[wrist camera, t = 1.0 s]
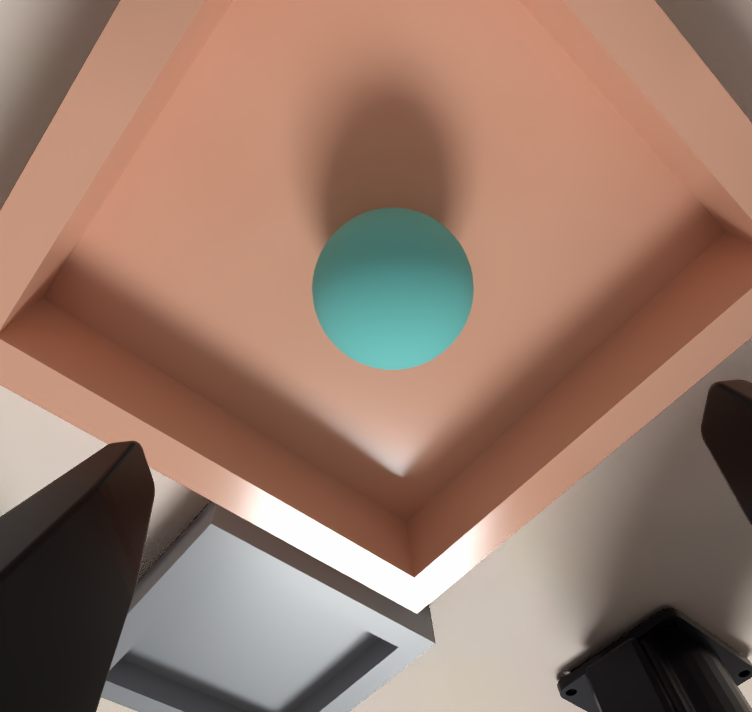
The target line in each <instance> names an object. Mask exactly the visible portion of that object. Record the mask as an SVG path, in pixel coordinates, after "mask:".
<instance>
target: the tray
mask: <svg viewBox="0 0 752 712" xmlns="http://www.w3.org/2000/svg"><path fill="white" fill-rule="evenodd" d="M434 644H435V637H434V631H433V625H432V619H431V613H430V608H429V607H427V606H426V607H425V608H424V609H422V610H421V611H420V612H419V613H417V614H416V613H414V612H413V611H411V610H409V609H407V608H405V607H404V606H402V605H400V604H398V603H396V602H394V601H393V600H391V599H389V598H387V597H385V596H384V595H382V594H380V593H378V592H376V591H374V590H373V589H371V588H369V587H367V586H365V585H364V584H362V583H360V582H358V581H356V580H354V579H353V578H351V577H349V576H347V575H345V574H343V573H342V572H340V571H338V570H336V569H334V568H333V567H331V566H329V565H327V564H325V563H323V562H322V561H320V560H318V559H316V558H314V557H313V556H311V555H309V554H307V553H305V552H303V551H302V550H300V549H298V548H296V547H294V546H293V545H291V544H289V543H287V542H285V541H283V540H282V539H280V538H278V537H276V536H274V535H272V534H271V533H269V532H267V531H265V530H263V529H262V528H260V527H258V526H256V525H254V524H252V523H251V522H249V521H247V520H245V519H243V518H242V517H240V516H238V515H236V514H234V513H232V512H231V511H229V510H227V509H225V508H223V507H222V506H220V505H218V504H216V503H214V502H212V501H210V502H209V504H208V505H207V506H206V507H205V508H204V509H203V510H202V511H201V512H200V513H199V515H198V516H197V517H196V518H195V519H194V520H193V521H192V522H191V523H190V525H189V526H188V527H187V528H186V529H185V530H184V531H183V532H182V533H181V534H180V536H179V537H178V538H177V539H176V540H175V541H174V542H173V543H172V544H171V546H170V547H169V548H168V549H167V550H166V551H165V552H164V553H163V554H162V555H161V557H160V558H159V559H158V560H157V561H156V562H155V563H154V564H153V565H152V567H151V568H150V569H149V570H148V571H147V572H146V573H145V574H144V575H143V576H142V578H141V579H140V580H139V581H138V582H137V585H136V588H135V592H134V595H133V598H132V602H131V605H130V608H129V611H128V614H127V617H126V620H125V623H124V626H123V629H122V633H121V636H120V639H119V642H118V645H117V648H116V651H115V654H114V657H113V661H112V664H111V667H110V670H109V673H108V676H107V679H106V682H105V685H104V688H103V692H102V695H101V697H102V698H105V699H107V700H110V701H112V702H115V703H118V704H120V705H123V706H125V707H128V708H131V709H133V710H136V711H138V712H350V711H351V710H352V709H353V708H355V707H356V706H357V705H358V704H360V703H361V702H362V701H363V700H365V699H366V698H367V697H368V696H370V695H371V694H372V693H374V692H375V691H376V690H377V689H379V688H380V687H381V686H382V685H384V684H385V683H386V682H387V681H389V680H390V679H391V678H392V677H394V676H395V675H396V674H398V673H399V672H400V671H401V670H403V669H404V668H405V667H406V666H408V665H409V664H410V663H411V662H413V661H414V660H415V659H417V658H418V657H419V656H420V655H422V654H423V653H424V652H425V651H427V650H428V649H429V648H430V647H432V646H433V645H434Z"/></svg>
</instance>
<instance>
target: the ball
mask: <svg viewBox="0 0 752 712" xmlns="http://www.w3.org/2000/svg"><path fill="white" fill-rule="evenodd" d="M473 292H474V286H473V275H472V270H471V266H470V263H469V261H468V258H467V255H466V253H465V251H464V249H463V247H462V246H461V244H460V243H459V241H458V240H457V239H456V237H455V236H454V235H453V234H452V233H451V232H450V231H449V230H448V229H447V228H446V227H445V226H444V225H442V224H441V223H440V222H438V221H437V220H435V219H434V218H432V217H430V216H428V215H426V214H423V213H421V212H418V211H414V210H410V209H406V208H396V207H395V208H381V209H375V210H372V211H368V212H365V213H363V214H361V215H358V216H356V217H354V218H353V219H351V220H349V221H348V222H346V223H345V224H344V225H343V226H341V227H340V228H339V229H338V230H337V231H336V232H335V233H334V234H333V235H332V236H331V237H330V239H329V240H328V241H327V243H326V244H325V246H324V247H323V249H322V251H321V253H320V255H319V258H318V260H317V263H316V266H315V270H314V274H313V282H312V294H313V304H314V308H315V312H316V315H317V318H318V321H319V323H320V325H321V327H322V329H323V330H324V332H325V334H326V335H327V337H328V338H329V339H330V341H331V342H332V343H333V344H334V345H335V346H336V347H337V348H338V349H339V350H340V351H342V352H343V353H344V354H345V355H346V356H348V357H350V358H351V359H353V360H355V361H357V362H359V363H361V364H364V365H367V366H370V367H373V368H378V369H384V370H402V369H408V368H412V367H416V366H419V365H422V364H424V363H427V362H429V361H430V360H432V359H434V358H436V357H437V356H439V355H440V354H441V353H443V352H444V351H445V350H446V349H447V348H448V347H449V346H450V345H451V344H452V343H453V342H454V341H455V340H456V339H457V337H458V336H459V334H460V333H461V331H462V330H463V328H464V326H465V324H466V322H467V319H468V316H469V314H470V311H471V307H472V302H473Z"/></svg>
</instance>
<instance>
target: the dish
mask: <svg viewBox="0 0 752 712" xmlns="http://www.w3.org/2000/svg"><path fill="white" fill-rule="evenodd" d="M395 207H396V208H406V209H410V210H414V211H418V212H421V213H423V214H426V215H428V216H430V217H432V218H434V219H435V220H437V221H438V222H440V223H441V224H442V225H444V226H445V227H446V228H447V229H448V230H449V231H450V232H451V233H452V234H453V235H454V236H455V237H456V239H457V240H458V241H459V243H460V244H461V246H462V247H463V249H464V251H465V253H466V255H467V258H468V261H469V263H470V266H471V270H472V275H473V286H474V292H473V302H472V307H471V311H470V314H469V316H468V319H467V322H466V324H465V326H464V328H463V330H462V331H461V333H460V334H459V336H458V337H457V339H456V340H455V341H454V342H453V343H452V344H451V345H450V346H449V347H448V348H447V349H446V350H445V351H444V352H443V353H441V354H440V355H439V356H437V357H436V358H434V359H432V360H430V361H429V362H427V363H424V364H422V365H419V366H416V367H412V368H408V369H402V370H384V369H378V368H373V367H370V366H367V365H364V364H361V363H359V362H357V361H355V360H353V359H351V358H350V357H348V356H346V355H345V354H344V353H343V352H342V351H340V350H339V349H338V348H337V347H336V346H335V345H334V344H333V343H332V342H331V341H330V339H329V338H328V337H327V335H326V334H325V332H324V330H323V329H322V327H321V325H320V323H319V321H318V318H317V315H316V312H315V308H314V304H313V294H312V282H313V274H314V270H315V266H316V263H317V260H318V258H319V255H320V253H321V251H322V249H323V247H324V246H325V244H326V243H327V241H328V240H329V239H330V237H331V236H332V235H333V234H334V233H335V232H336V231H337V230H338V229H339V228H340V227H341V226H343V225H344V224H345V223H346V222H348V221H349V220H351V219H353V218H354V217H356V216H358V215H361V214H363V213H365V212H368V211H372V210H375V209H381V208H395ZM751 337H752V123H751V121H750V120H749V119H748V118H747V116H746V115H745V114H744V112H743V111H742V110H741V109H740V107H739V106H738V105H737V104H736V102H735V101H734V100H733V99H732V97H731V96H730V95H729V93H728V92H727V91H726V90H725V88H724V87H723V86H722V85H721V83H720V82H719V81H718V80H717V78H716V77H715V76H714V74H713V73H712V72H711V71H710V69H709V68H708V67H707V66H706V64H705V63H704V62H703V61H702V59H701V58H700V57H699V55H698V54H697V53H696V52H695V50H694V49H693V48H692V47H691V45H690V44H689V43H688V42H687V40H686V39H685V38H684V36H683V35H682V34H681V33H680V31H679V30H678V29H677V28H676V26H675V25H674V24H673V23H672V21H671V20H670V19H669V17H668V16H667V15H666V14H665V12H664V11H663V10H662V9H661V7H660V6H659V5H658V4H657V2H656V1H655V0H120V2H119V4H118V5H117V7H116V9H115V11H114V12H113V14H112V16H111V18H110V19H109V21H108V23H107V25H106V26H105V28H104V30H103V32H102V33H101V35H100V37H99V39H98V40H97V42H96V44H95V46H94V47H93V49H92V51H91V53H90V54H89V56H88V58H87V60H86V61H85V63H84V65H83V67H82V68H81V70H80V72H79V74H78V75H77V77H76V79H75V81H74V82H73V84H72V86H71V88H70V89H69V91H68V93H67V95H66V96H65V98H64V100H63V102H62V104H61V105H60V107H59V109H58V111H57V112H56V114H55V116H54V118H53V119H52V121H51V123H50V125H49V126H48V128H47V130H46V132H45V133H44V135H43V137H42V139H41V140H40V142H39V144H38V146H37V147H36V149H35V151H34V153H33V154H32V156H31V158H30V160H29V161H28V163H27V165H26V167H25V168H24V170H23V172H22V174H21V175H20V177H19V179H18V181H17V182H16V184H15V186H14V188H13V189H12V191H11V193H10V195H9V196H8V198H7V200H6V202H5V203H4V205H3V207H2V209H1V210H0V385H1V386H3V387H5V388H7V389H9V390H10V391H12V392H14V393H16V394H18V395H19V396H21V397H23V398H25V399H27V400H29V401H30V402H32V403H34V404H36V405H38V406H39V407H41V408H43V409H45V410H47V411H49V412H50V413H52V414H54V415H56V416H58V417H60V418H61V419H63V420H65V421H67V422H69V423H70V424H72V425H74V426H76V427H78V428H80V429H81V430H83V431H85V432H87V433H89V434H90V435H92V436H94V437H96V438H98V439H100V440H101V441H103V442H105V443H107V444H110V443H115V442H125V441H136V442H138V443H140V445H141V446H142V448H143V451H144V454H145V457H146V460H147V463H148V466H149V467H151V468H152V469H154V470H156V471H158V472H160V473H161V474H163V475H165V476H167V477H169V478H171V479H172V480H174V481H176V482H178V483H180V484H181V485H183V486H185V487H187V488H189V489H191V490H192V491H194V492H196V493H198V494H200V495H201V496H203V497H205V498H207V499H209V500H211V501H212V502H214V503H216V504H218V505H220V506H222V507H223V508H225V509H227V510H229V511H231V512H232V513H234V514H236V515H238V516H240V517H242V518H243V519H245V520H247V521H249V522H251V523H252V524H254V525H256V526H258V527H260V528H262V529H263V530H265V531H267V532H269V533H271V534H272V535H274V536H276V537H278V538H280V539H282V540H283V541H285V542H287V543H289V544H291V545H293V546H294V547H296V548H298V549H300V550H302V551H303V552H305V553H307V554H309V555H311V556H313V557H314V558H316V559H318V560H320V561H322V562H323V563H325V564H327V565H329V566H331V567H333V568H334V569H336V570H338V571H340V572H342V573H343V574H345V575H347V576H349V577H351V578H353V579H354V580H356V581H358V582H360V583H362V584H364V585H365V586H367V587H369V588H371V589H373V590H374V591H376V592H378V593H380V594H382V595H384V596H385V597H387V598H389V599H391V600H393V601H394V602H396V603H398V604H400V605H402V606H404V607H405V608H407V609H409V610H411V611H413V612H414V613H416V614H417V613H419V612H420V611H421V610H422V609H424V608H425V607H426V606H427V605H428V604H430V603H431V602H432V601H433V600H434V599H436V598H437V597H438V596H439V595H440V594H442V593H443V592H444V591H445V590H446V589H448V588H449V587H450V586H451V585H453V584H454V583H455V582H456V581H457V580H459V579H460V578H461V577H462V576H463V575H465V574H466V573H467V572H468V571H469V570H471V569H472V568H473V567H474V566H476V565H477V564H478V563H479V562H480V561H482V560H483V559H484V558H485V557H486V556H488V555H489V554H490V553H491V552H492V551H494V550H495V549H496V548H497V547H498V546H500V545H501V544H502V543H503V542H505V541H506V540H507V539H508V538H509V537H511V536H512V535H513V534H514V533H515V532H517V531H518V530H519V529H520V528H521V527H523V526H524V525H525V524H526V523H528V522H529V521H530V520H531V519H532V518H534V517H535V516H536V515H537V514H538V513H540V512H541V511H542V510H543V509H544V508H546V507H547V506H548V505H549V504H550V503H552V502H553V501H554V500H555V499H557V498H558V497H559V496H560V495H561V494H563V493H564V492H565V491H566V490H567V489H569V488H570V487H571V486H572V485H573V484H575V483H576V482H577V481H578V480H580V479H581V478H582V477H583V476H584V475H586V474H587V473H588V472H589V471H590V470H592V469H593V468H594V467H595V466H596V465H598V464H599V463H600V462H601V461H602V460H604V459H605V458H606V457H607V456H609V455H610V454H611V453H612V452H613V451H615V450H616V449H617V448H618V447H619V446H621V445H622V444H623V443H624V442H625V441H627V440H628V439H629V438H630V437H631V436H633V435H634V434H635V433H636V432H638V431H639V430H640V429H641V428H642V427H644V426H645V425H646V424H647V423H648V422H650V421H651V420H652V419H653V418H654V417H656V416H657V415H658V414H659V413H661V412H662V411H663V410H664V409H665V408H667V407H668V406H669V405H670V404H671V403H673V402H674V401H675V400H676V399H677V398H679V397H680V396H681V395H682V394H683V393H685V392H686V391H687V390H688V389H690V388H691V387H692V386H693V385H694V384H696V383H697V382H698V381H699V380H700V379H702V378H703V377H704V376H705V375H706V374H708V373H709V372H710V371H711V370H713V369H714V368H715V367H716V366H717V365H719V364H720V363H721V362H722V361H723V360H725V359H726V358H727V357H728V356H729V355H731V354H732V353H733V352H734V351H735V350H737V349H738V348H739V347H740V346H742V345H743V344H744V343H745V342H746V341H748V340H749V339H750V338H751Z"/></svg>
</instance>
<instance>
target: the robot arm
mask: <svg viewBox="0 0 752 712" xmlns="http://www.w3.org/2000/svg"><path fill="white" fill-rule="evenodd" d="M701 433H702V437H703V440H704V442H705V444H706V446H707V448H708V450H709V451H710V453H711V455H712V457H713V459H714V460H715V462H716V464H717V466H718V468H719V469H720V471H721V473H722V475H723V477H724V478H725V480H726V482H727V484H728V486H729V487H730V489H731V491H732V493H733V495H734V496H735V498H736V500H737V502H738V504H739V505H740V507H741V509H742V511H743V512H744V514H745V516H746V517H747V519H748V521H749V522H750V524H751V525H752V383H750V382H747V381H744V380H730V381H720V382H715V383H714V384H713V385H711V387H710V389H709V391H708V396H707V400H706V405H705V410H704V415H703V419H702V424H701ZM154 496H155V487H154V482H153V478H152V475H151V472H150V469H149V466H148V463H147V460H146V457H145V454H144V451H143V448H142V446H141V445H140V443H138V442H136V441H125V442H115V443H110V444H108V445H107V446H105V447H104V448H102V449H101V450H99V451H98V452H96V453H95V454H93V455H92V456H90V457H89V458H87V459H86V460H84V461H83V462H81V463H80V464H79V465H77V466H76V467H74V468H73V469H71V470H70V471H68V472H67V473H65V474H64V475H62V476H61V477H59V478H58V479H56V480H55V481H53V482H52V483H50V484H49V485H47V486H46V487H44V488H43V489H41V490H40V491H38V492H37V493H35V494H34V495H32V496H31V497H29V498H28V499H26V500H25V501H23V502H22V503H20V504H19V505H17V506H16V507H14V508H13V509H11V510H10V511H8V512H7V513H5V514H4V515H2V516H1V517H0V712H96V710H97V707H98V704H99V701H100V698H101V695H102V692H103V688H104V685H105V682H106V679H107V676H108V673H109V670H110V667H111V664H112V661H113V657H114V654H115V651H116V648H117V645H118V642H119V639H120V636H121V633H122V629H123V626H124V623H125V620H126V617H127V614H128V611H129V608H130V605H131V602H132V598H133V595H134V592H135V588H136V585H137V581H138V576H139V572H140V567H141V562H142V557H143V552H144V547H145V542H146V537H147V532H148V527H149V522H150V517H151V512H152V507H153V501H154ZM751 677H752V664H751V662H750V661H749V660H748V659H747V658H745V657H744V656H742V655H741V654H740V653H738V652H737V651H735V650H734V649H732V648H731V647H730V646H728V645H727V644H725V643H724V642H722V641H721V640H719V639H718V638H717V637H715V636H714V635H712V634H711V633H709V632H708V631H706V630H705V629H704V628H702V627H701V626H699V625H698V624H696V623H695V622H693V621H692V620H691V619H689V618H688V617H686V616H685V615H683V614H682V613H680V612H679V611H678V610H676V609H674V608H667V609H663V610H661V611H659V612H658V613H656V614H655V615H654V616H652V617H651V618H649V619H648V620H646V621H645V622H643V623H642V624H641V625H639V626H638V627H636V628H635V629H633V630H632V631H630V632H629V633H628V634H626V635H625V636H623V637H622V638H620V639H619V640H617V641H616V642H615V643H613V644H612V645H610V646H609V647H607V648H606V649H604V650H603V651H602V652H600V653H599V654H597V655H596V656H594V657H593V658H591V659H590V660H589V661H587V662H586V663H584V664H583V665H581V666H580V667H578V668H577V669H576V670H574V671H573V672H571V673H570V674H568V675H567V676H565V677H564V678H563V679H561V680H560V681H559V682H558V684H557V687H558V690H559V693H560V696H561V697H562V698H564V699H565V700H567V701H569V702H571V703H573V704H575V705H576V706H578V707H580V708H582V709H584V710H586V711H587V712H752V708H751V707H750V705H749V704H748V702H747V701H746V699H745V697H744V696H743V694H742V693H741V691H740V689H739V688H738V685H740V684H741V683H743V682H745V681H746V680H748V679H750V678H751Z"/></svg>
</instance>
